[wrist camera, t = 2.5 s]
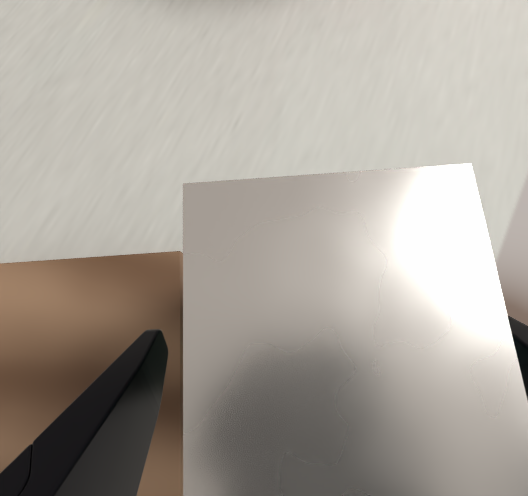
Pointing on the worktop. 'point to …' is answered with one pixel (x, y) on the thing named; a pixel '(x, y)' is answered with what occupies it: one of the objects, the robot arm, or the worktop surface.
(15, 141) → the worktop surface
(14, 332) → the walnut board
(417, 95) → the worktop surface
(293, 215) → the tea tin
